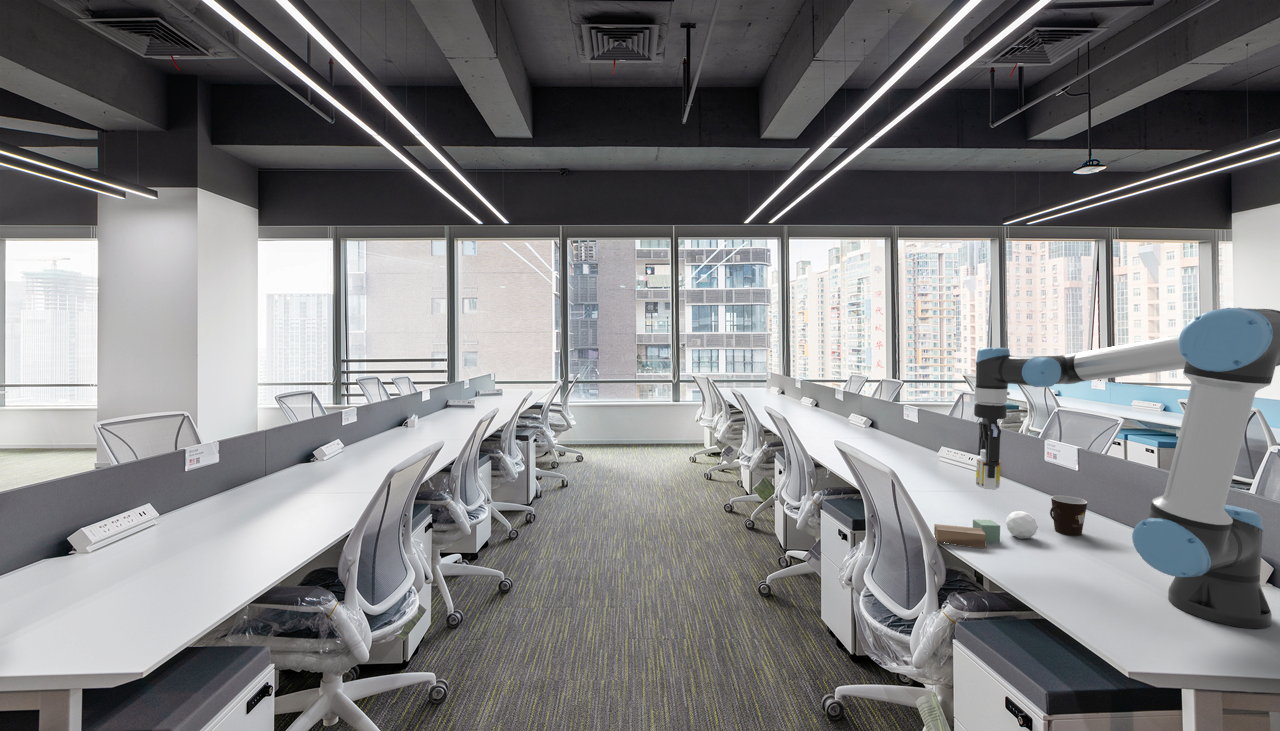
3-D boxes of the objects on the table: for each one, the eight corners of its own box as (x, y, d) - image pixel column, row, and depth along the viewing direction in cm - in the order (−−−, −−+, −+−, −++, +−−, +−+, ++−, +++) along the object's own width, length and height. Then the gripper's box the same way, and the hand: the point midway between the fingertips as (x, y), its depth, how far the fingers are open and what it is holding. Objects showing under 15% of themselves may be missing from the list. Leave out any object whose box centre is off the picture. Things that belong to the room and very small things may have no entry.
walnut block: (985, 548, 151) (985, 534, 151) (937, 543, 156) (937, 529, 155) (981, 542, 156) (981, 528, 156) (934, 537, 160) (934, 523, 160)
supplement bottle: (1004, 489, 148) (1006, 452, 148) (987, 490, 147) (989, 453, 146) (987, 483, 154) (988, 448, 153) (970, 484, 153) (972, 449, 152)
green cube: (999, 542, 156) (1000, 525, 156) (981, 542, 156) (981, 525, 156) (990, 536, 161) (990, 519, 161) (972, 535, 161) (972, 519, 161)
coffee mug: (1073, 527, 167) (1074, 495, 167) (1093, 537, 159) (1094, 504, 158) (1033, 526, 169) (1034, 495, 168) (1051, 536, 160) (1052, 503, 160)
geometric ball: (1025, 545, 161) (1043, 524, 160) (1025, 543, 155) (1044, 522, 154) (1000, 527, 166) (1017, 507, 165) (998, 524, 159) (1016, 504, 159)
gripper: (1016, 408, 139) (1011, 497, 141) (998, 399, 156) (994, 478, 158) (982, 407, 142) (978, 493, 143) (968, 398, 159) (965, 476, 161)
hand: (986, 485), depth 151 cm, fingers closed on supplement bottle, 6 cm apart
